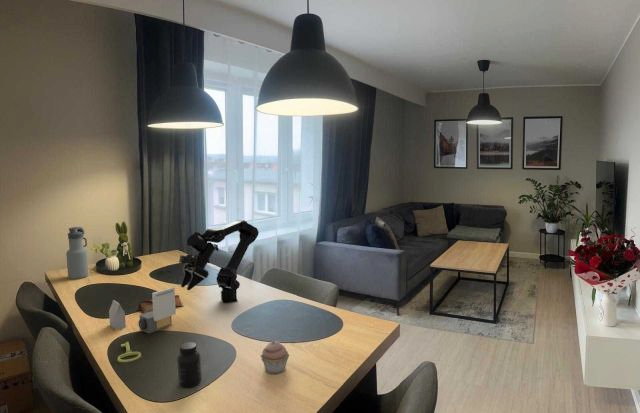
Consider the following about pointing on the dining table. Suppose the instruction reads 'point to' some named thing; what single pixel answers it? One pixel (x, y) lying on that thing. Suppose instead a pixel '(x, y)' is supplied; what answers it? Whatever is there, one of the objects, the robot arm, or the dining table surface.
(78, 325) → the dining table surface
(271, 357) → the cupcake
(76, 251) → the water bottle
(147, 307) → the sunglasses case
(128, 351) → the key
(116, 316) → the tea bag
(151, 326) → the grey rectangular block
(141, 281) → the dining table surface
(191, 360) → the supplement bottle
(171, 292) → the side door
